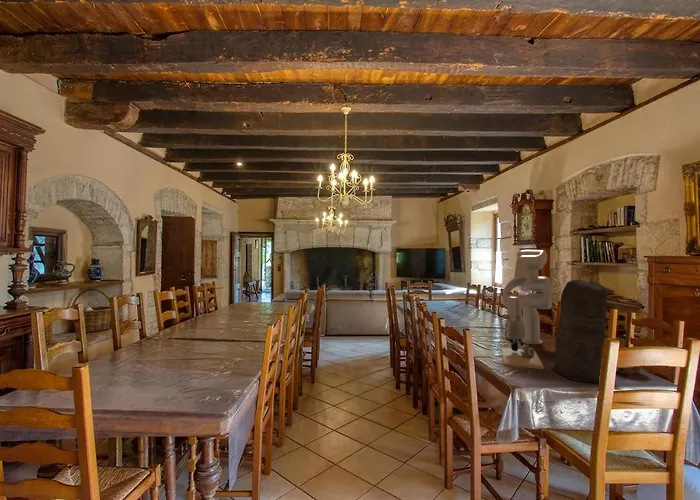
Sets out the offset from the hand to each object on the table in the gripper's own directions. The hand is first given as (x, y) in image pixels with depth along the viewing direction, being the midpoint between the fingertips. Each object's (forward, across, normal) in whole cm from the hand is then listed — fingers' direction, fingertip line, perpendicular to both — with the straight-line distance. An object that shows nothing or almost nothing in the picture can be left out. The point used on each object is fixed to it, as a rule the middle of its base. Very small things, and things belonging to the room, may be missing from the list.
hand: (514, 350), depth 211 cm
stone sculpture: (+2, +12, -39) cm, 41 cm away
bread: (+3, +35, -30) cm, 46 cm away
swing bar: (-1, +4, -3) cm, 5 cm away
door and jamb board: (+2, -1, -8) cm, 8 cm away
